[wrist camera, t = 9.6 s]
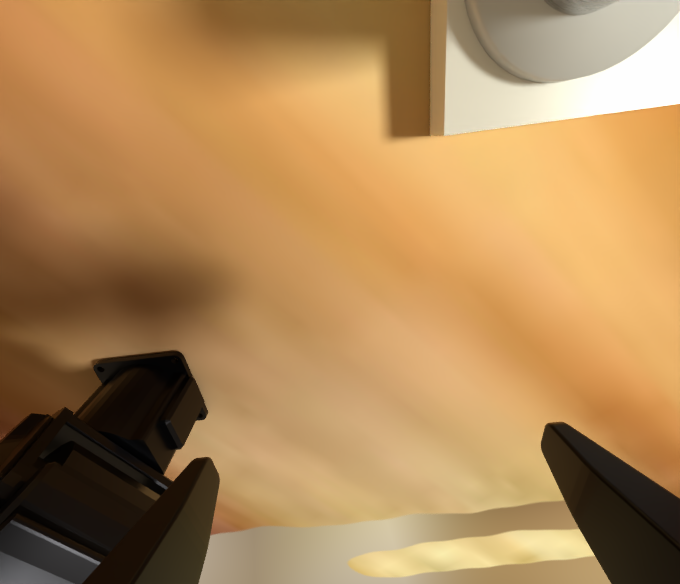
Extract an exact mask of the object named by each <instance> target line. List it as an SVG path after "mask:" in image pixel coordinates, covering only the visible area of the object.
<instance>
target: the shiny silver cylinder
mask: <svg viewBox="0 0 680 584" xmlns="http://www.w3.org/2000/svg"><path fill="white" fill-rule="evenodd" d="M544 1H545V2H546V3H547V4H548V5H549V6H551V7H552V8H553V9H555V10H557V11H559V12H561V13H565V14H569V15H584V14H589V13H593V12H595V11H598V10H601V9H603V8H605V7H607V6H609V5H611V4H613V3H616V2H618V1H620V0H544Z"/></svg>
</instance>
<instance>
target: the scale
mask: <svg viewBox="0 0 680 584" xmlns="http://www.w3.org/2000/svg"><path fill="white" fill-rule="evenodd" d="M674 104H680V0H620V1H618V2H616V3H613V4H611V5H609V6H607V7H605V8H603V9H601V10H598V11H595V12H593V13H589V14H584V15H569V14H565V13H561V12H559V11H557V10H555V9H553V8H552V7H551V6H549V5H548V4H547V3H546V2H545V1H544V0H431V17H430V136H447V135H454V134H461V133H469V132H476V131H483V130H491V129H498V128H505V127H513V126H520V125H527V124H535V123H542V122H549V121H556V120H564V119H571V118H578V117H586V116H593V115H600V114H608V113H615V112H622V111H630V110H637V109H644V108H652V107H659V106H666V105H674Z"/></svg>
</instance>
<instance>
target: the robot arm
mask: <svg viewBox="0 0 680 584" xmlns="http://www.w3.org/2000/svg"><path fill="white" fill-rule="evenodd" d="M175 358H176V359H178V360H176V359H175ZM102 367H103V368H102ZM93 368H94V371H95V372H96V374H97V376H98V377H99V379H100V381H101V382H102V385H101V386H100V387H99V388H98V389H97V390H96V391H95V392H94V393H93V394H92V395H91V397H90V398H89V399H88V400H87V401H86V402H85V403H84V404H83V405H82V406H81V407H80V408H79V410H78V411H77V412H76V413H75V414H74V415H73V412H72V411H71V410H69V409H68V408H66V407H64V408H62V409H61V410H59V411H58V412H56V413H55V414H53V415H52V416H50V415H48V414H47V415H42V414H33V413H31V414H30V415H29V416H27V417H26V418H24V419H23V420H22V421H21V422H20V423H19V424H18V425H17V426H16V427H15V428H13V429H12V430H11V431H10V432H9V433H8V434H7V435H6V436H5V437H4V438H3V439H2V440H1V441H0V584H198V583H199V579H200V575H201V572H202V568H203V564H204V560H205V557H206V553H207V549H208V544H209V539H210V534H211V528H212V523H213V517H214V511H215V506H216V500H217V495H218V489H219V482H220V479H219V474H218V472H217V470H216V468H215V466H214V463H213V461H212V459H211V458H209V457H202V458H196V459H194V460H193V461H191V462H190V464H189V465H188V466H187V467H186V468H185V469H184V470H183V471H182V472H181V474H180V475H179V476H178V477H177V478H176V479H175V480H174V481H172V480H170V479H169V478H167V477H166V476H164V473H165V471H166V469H167V467H168V465H169V463H170V461H171V459H172V457H173V455H174V453H175V451H176V450H178V449H181V448H182V447H183V446H184V444H185V442H186V440H187V438H188V436H189V434H190V431H191V429H192V427H193V425H194V423H195V421H197V420H204V419H205V418H206V416H207V414H208V410H207V408H206V406H205V403H204V399H203V397H202V395H201V392H200V390H199V388H198V385H197V383H196V381H195V379H194V378H193V376H192V374H191V371H190V369H189V367H188V364H187V362H186V360H185V358H184V356H183V354H181V353H179V352H170V353H161V354H152V355H144V356H135V357H126V358H117V359H109V360H101V361H98V362H97V363H96V364H95V365H94V367H93ZM541 449H542V452H543V455H544V457H545V459H546V461H547V463H548V465H549V468H550V470H551V472H552V474H553V476H554V478H555V480H556V483H557V485H558V487H559V489H560V491H561V493H562V495H563V498H564V500H565V502H566V504H567V506H568V508H569V510H570V512H571V514H572V516H573V518H574V520H575V522H576V523H577V525H578V527H579V529H580V531H581V532H582V534H583V536H584V537H585V539H586V541H587V543H588V544H589V546H590V548H591V549H592V551H593V553H594V555H595V556H596V558H597V560H598V562H599V563H600V565H601V567H602V568H603V570H604V572H605V573H606V575H607V577H608V579H609V580H610V582H611V584H680V498H678V497H677V496H675V495H674V494H672V493H671V492H669V491H668V490H666V489H665V488H663V487H662V486H660V485H659V484H657V483H656V482H654V481H653V480H651V479H650V478H648V477H647V476H645V475H644V474H642V473H640V472H639V471H637V470H636V469H634V468H633V467H631V466H630V465H628V464H627V463H625V462H624V461H622V460H621V459H619V458H618V457H616V456H615V455H613V454H612V453H610V452H609V451H607V450H606V449H604V448H603V447H601V446H600V445H598V444H597V443H595V442H594V441H592V440H591V439H589V438H588V437H586V436H585V435H583V434H582V433H580V432H579V431H577V430H576V429H574V428H573V427H571V426H570V425H568V424H566V423H564V422H553V423H547V424H546V425H545V429H544V433H543V437H542V441H541Z"/></svg>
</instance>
